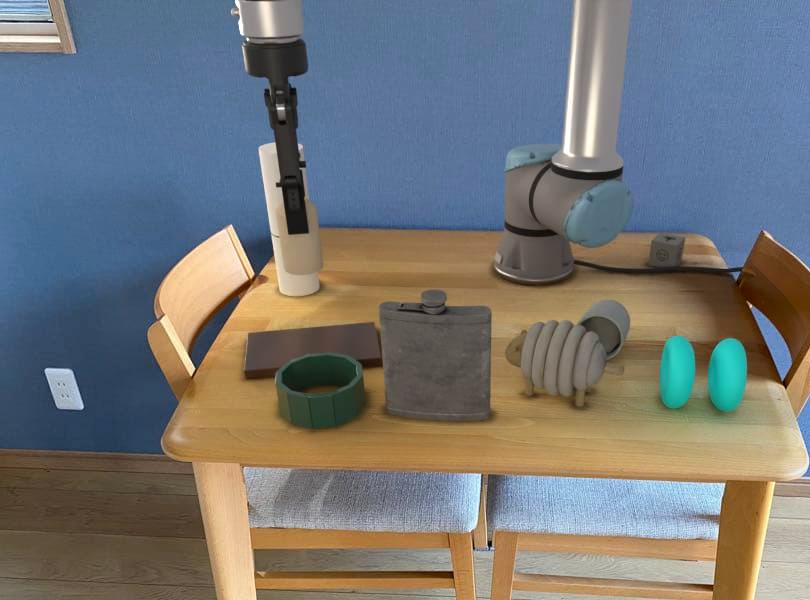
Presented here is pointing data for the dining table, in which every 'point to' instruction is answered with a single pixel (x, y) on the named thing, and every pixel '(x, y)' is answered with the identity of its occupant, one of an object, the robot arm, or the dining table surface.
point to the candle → (300, 243)
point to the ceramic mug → (608, 324)
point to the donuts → (722, 374)
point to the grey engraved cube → (666, 250)
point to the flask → (436, 359)
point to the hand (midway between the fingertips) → (298, 224)
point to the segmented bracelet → (320, 406)
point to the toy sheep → (560, 359)
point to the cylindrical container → (274, 197)
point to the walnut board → (309, 346)
